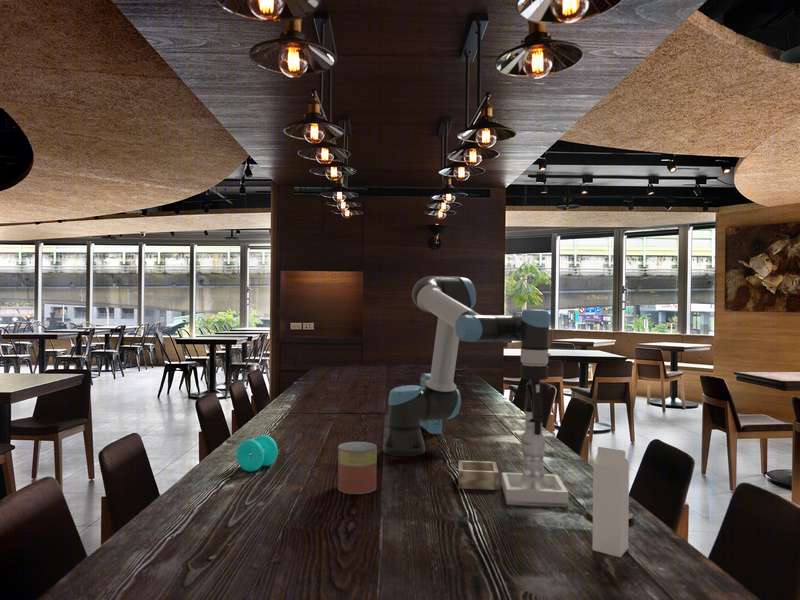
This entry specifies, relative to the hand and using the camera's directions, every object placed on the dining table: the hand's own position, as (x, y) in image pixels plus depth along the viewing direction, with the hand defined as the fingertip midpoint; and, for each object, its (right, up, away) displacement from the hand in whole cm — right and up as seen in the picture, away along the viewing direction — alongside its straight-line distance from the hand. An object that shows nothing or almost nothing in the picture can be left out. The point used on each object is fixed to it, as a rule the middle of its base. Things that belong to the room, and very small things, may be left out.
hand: (533, 440), depth 161 cm
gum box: (-24, -17, +85) cm, 90 cm away
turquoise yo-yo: (-83, -15, +23) cm, 88 cm away
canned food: (-50, -15, +5) cm, 52 cm away
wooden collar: (-14, -16, +11) cm, 24 cm away
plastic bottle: (0, -15, 0) cm, 15 cm away
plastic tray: (0, -16, 0) cm, 16 cm away
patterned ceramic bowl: (+16, -16, -16) cm, 27 cm away
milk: (+9, -15, -35) cm, 40 cm away
